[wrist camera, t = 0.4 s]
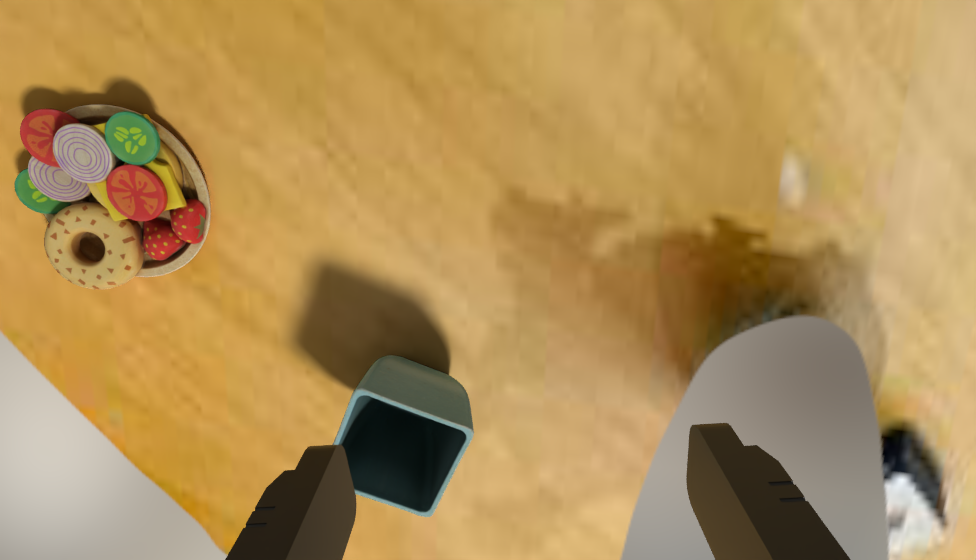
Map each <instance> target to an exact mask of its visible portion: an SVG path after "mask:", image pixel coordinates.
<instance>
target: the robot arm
mask: <svg viewBox="0 0 976 560" xmlns="http://www.w3.org/2000/svg"><path fill="white" fill-rule="evenodd" d="M687 490H688V495H689V499H690V503H691V506H692V508H693V511H694V513H695V515H696V517H697V519H698V522H699V524H700V526H701V528H702V530H703V533H704V535H705V537H706V540H707V542H708V544H709V546H710V548H711V551H712V553H713V555H714V557H715V560H850V558H849V557H848V556H847V554H846V553H845V552H844V550H843V549H842V547H841V546H840V545H839V543H838V542H837V541H836V539H835V538H834V537H833V535H832V534H831V532H830V531H829V530H828V528H827V527H826V526H825V524H824V523H823V521H822V520H821V519H820V517H819V516H818V515H817V513H816V512H815V510H814V509H813V508H812V506H811V505H810V504H809V502H808V501H805V497H804V496H803V494H802V493H801V491H800V490H799V489H798V487H797V486H796V485H794V484H793V480H792V479H791V478H790V476H789V475H788V474H787V472H786V471H785V469H784V468H783V467H782V466H781V464H780V463H779V461H777V460H776V459H775V458H773V457H772V456H771V455H769V454H768V453H766V452H765V451H764V450H762V449H761V448H760V447H758V446H757V445H753V446H744V445H743V444H742V442H741V441H740V439H739V438H738V436H737V435H736V433H735V432H734V430H733V429H732V427H731V426H730V425H729V424H727V423H717V424H700V425H692V427H691V428H690V434H689V450H688V464H687ZM355 515H356V495H355V490H354V486H353V482H352V478H351V474H350V469H349V465H348V461H347V457H346V453H345V449H344V447H343V446H342V445H323V446H310V447H308V448H307V449H306V450H305V452H304V454H303V456H302V457H301V459H300V461H299V463H298V465H297V467H296V469H295V470H287V471H284V472H283V473H282V474H281V475H280V476H279V477H278V478H276V479H275V480H274V481H273V482H272V483H271V484H270V485H269V486H268V487H267V488H266V490H265V491H264V493H263V495H262V497H261V498H260V500H259V502H258V504H257V505H256V507H255V511H253V512H252V514H251V516H250V517H249V519H248V521H247V523H246V528H243V530H242V531H241V533H240V535H239V537H238V538H237V540H236V542H235V544H234V545H233V547H232V549H231V551H230V552H229V554H228V556H227V558H226V559H225V560H342V558H343V555H344V552H345V549H346V546H347V543H348V540H349V537H350V534H351V531H352V528H353V525H354V521H355Z"/></svg>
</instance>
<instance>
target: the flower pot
mask: <svg viewBox="0 0 976 560" xmlns="http://www.w3.org/2000/svg"><path fill="white" fill-rule="evenodd" d="M473 435H474V431H473V422H472V415H471V408H470V402H469V398H468V395H467V392H466V390H465V389H464V387H463V386H462V385H461V384H460V383H459V382H458V381H457V380H455V379H454V378H452V377H451V376H449V375H448V374H445V373H443V372H440V371H437V370H435V369H432V368H429V367H427V366H424V365H421V364H419V363H416V362H414V361H411V360H409V359H406V358H403V357H400V356H394V355H388V356H384V357H381V358H379V359H378V360H377V361H375V362H374V363H373V365H372V366H371V367H370V369H369V370H368V371H367V373H366V374H365V376H364V377H363V379H362V380H361V382H360V383H359V385H358V386H357V387H356V389H355V390H354V392H353V394H352V396H351V399H350V402H349V404H348V407H347V410H346V412H345V415H344V418H343V420H342V423H341V426H340V428H339V431H338V433H337V436H336V438H335V441H334V443H333V445H342V446H343V447H344V449H345V453H346V457H347V461H348V465H349V469H350V474H351V478H352V482H353V486H354V490H355V494H357V495H361V496H363V497H366V498H369V499H372V500H375V501H378V502H381V503H385V504H388V505H390V506H394V507H397V508H399V509H402V510H405V511H408V512H411V513H413V514H416V515H419V516H423V517H431V516H432V515H433V513H434V512H435V510H436V508H437V505H438V504H439V502H440V499H441V497H442V496H443V493H444V491H445V490H446V487H447V485H448V483H449V482H450V479H451V478H452V476H453V474H454V472H455V470H456V468H457V466H458V464H459V462H460V460H461V458H462V456H463V454H464V453H465V451H466V449H467V447H468V446H469V444H470V442H471V440H472V438H473Z"/></svg>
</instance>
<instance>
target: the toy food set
mask: <svg viewBox="0 0 976 560" xmlns="http://www.w3.org/2000/svg"><path fill="white" fill-rule="evenodd" d="M20 135H21V140H22V142H23V144H24V146H25V148H26V149H27V150H28V152H30V154H31V155H32V157H31V158H30V160H29V164H28V168H27V169H25V170H23V171H22V172H20V173H19V175H18V176H17V178H16V180H15V191H16V194H17V196H18V198H19V199H20V201H21V202H22V203H23V204H24V205H26V206H27V207H28V208H30V209H32V210H34V211H36V212H39V213H43V214H44V215H45V217H46V218H47V220H48V222H49V224H48V226H47V229H46V232H45V238H44V246H45V250H46V253H47V256H48V258H49V260H50V262H51V264H52V265H53V267H54V268H55V269H56V270H57V272H58V273H59V274H60V275H61V276H62V277H64V278H65V279H67V280H68V281H70V282H72V283H73V284H76V285H78V286H80V287H84V288H88V289H99V290H101V289H110V288H114V287H117V286H120V285H123V284H125V283H127V282H128V281H130V280H131V279H132V278H133V277H134V276H136V277H154V276H161V275H165V274H168V273H171V272H173V271H175V270H177V269H179V268H181V267H183V266H184V265H186V264H187V263H188V262H189V261H190V260H191V259H192V258H193V257H194V256H195V255H196V254H197V253H198V251H199V250H200V249H201V247H202V245H203V243H204V241H205V239H206V237H207V234H208V230H209V226H210V219H211V205H210V197H209V192H208V189H207V185H206V182H205V179H204V177H203V175H202V173H201V171H200V169H199V167H198V165H197V163H196V162H195V160H194V159H193V157H192V156H191V154H190V153H189V151H188V150H187V149H186V148H185V147H184V145H183V144H182V143H181V142H180V141H179V140H178V139H177V138H176V137H175V136H174V135H173V134H172V133H170V132H169V131H168V130H167V129H165V128H164V127H163V126H161V125H160V124H158V123H157V122H155V121H154V120H152V119H150V117H149V115H148V114H140V113H137V112H135V111H132V110H129V109H126V108H123V107H118V106H112V105H103V104H92V105H84V106H79V107H75V108H73V109H70V110H68V111H66V112H62V111H59V110H55V109H38V110H35V111H33V112H31V113H29V114H28V115H27V116H26V117H25V118H24V119H23V121H22V123H21V127H20Z"/></svg>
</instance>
